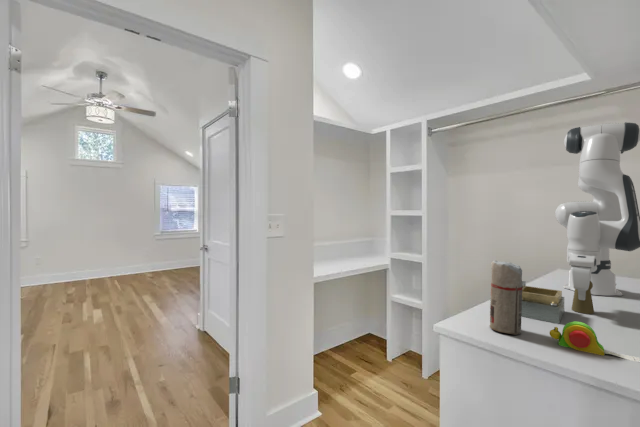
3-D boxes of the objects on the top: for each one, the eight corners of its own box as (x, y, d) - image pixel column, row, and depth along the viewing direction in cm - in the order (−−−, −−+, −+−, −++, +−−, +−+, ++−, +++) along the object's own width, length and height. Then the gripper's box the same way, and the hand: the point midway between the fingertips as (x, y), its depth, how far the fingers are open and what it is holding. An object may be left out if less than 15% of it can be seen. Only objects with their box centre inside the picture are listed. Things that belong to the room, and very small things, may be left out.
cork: (598, 314, 102) (598, 281, 102) (577, 313, 104) (577, 281, 103) (587, 308, 108) (587, 277, 108) (567, 307, 109) (567, 277, 109)
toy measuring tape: (549, 338, 84) (549, 314, 84) (653, 359, 72) (653, 332, 72) (549, 346, 79) (549, 320, 79) (659, 370, 67) (660, 341, 67)
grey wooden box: (523, 304, 114) (523, 280, 114) (564, 311, 106) (564, 285, 106) (513, 314, 102) (514, 288, 102) (559, 323, 94) (559, 294, 94)
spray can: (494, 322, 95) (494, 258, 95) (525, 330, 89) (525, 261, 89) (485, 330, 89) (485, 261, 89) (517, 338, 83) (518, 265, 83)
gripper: (574, 253, 115) (573, 290, 115) (568, 260, 100) (567, 302, 101) (596, 255, 111) (596, 293, 111) (593, 263, 96) (593, 306, 96)
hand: (582, 297), depth 106 cm, fingers closed on cork, 5 cm apart
